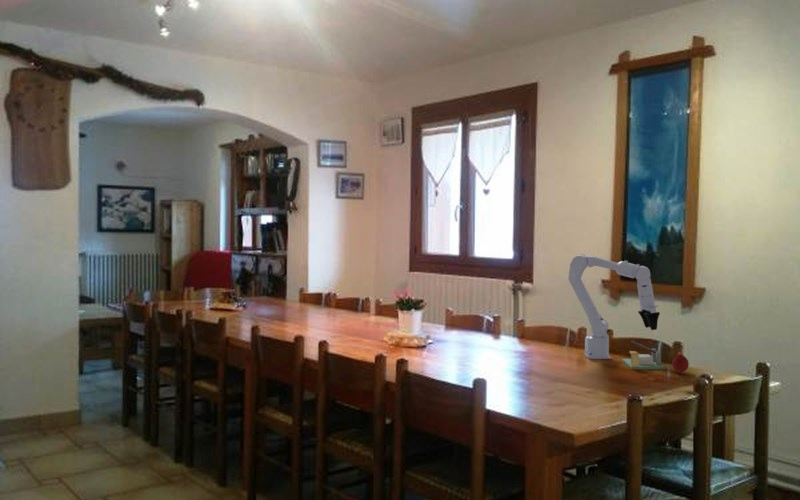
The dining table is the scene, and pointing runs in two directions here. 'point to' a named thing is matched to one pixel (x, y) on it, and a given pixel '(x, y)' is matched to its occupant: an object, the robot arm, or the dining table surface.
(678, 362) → the onion
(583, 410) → the dining table surface
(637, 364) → the block
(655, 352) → the strap
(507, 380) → the dining table surface
